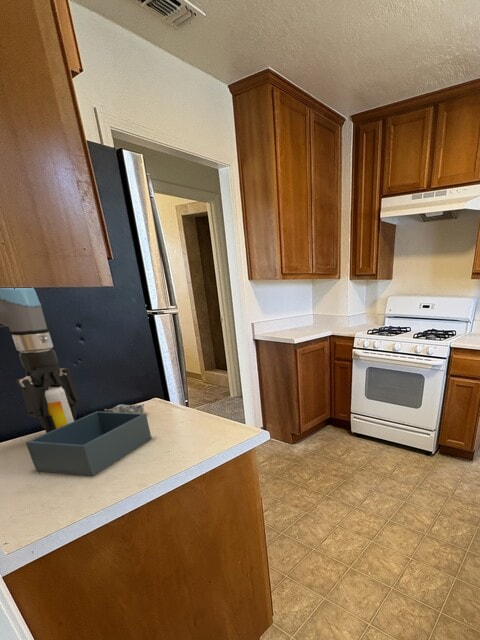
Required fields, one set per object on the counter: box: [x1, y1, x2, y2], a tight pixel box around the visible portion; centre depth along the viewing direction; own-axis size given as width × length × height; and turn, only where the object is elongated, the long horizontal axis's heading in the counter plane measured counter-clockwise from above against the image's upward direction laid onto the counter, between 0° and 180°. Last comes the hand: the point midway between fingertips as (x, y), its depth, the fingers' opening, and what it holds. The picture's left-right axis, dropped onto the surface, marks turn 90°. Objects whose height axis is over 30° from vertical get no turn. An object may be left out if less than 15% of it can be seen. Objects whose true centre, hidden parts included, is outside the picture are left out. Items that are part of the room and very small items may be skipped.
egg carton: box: [103, 403, 146, 414], centre depth 117 cm, size 11×8×4 cm
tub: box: [25, 410, 153, 477], centre depth 91 cm, size 16×22×8 cm
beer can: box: [45, 386, 74, 429], centre depth 97 cm, size 6×6×15 cm
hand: (64, 432), depth 100 cm, fingers closed on beer can, 6 cm apart
